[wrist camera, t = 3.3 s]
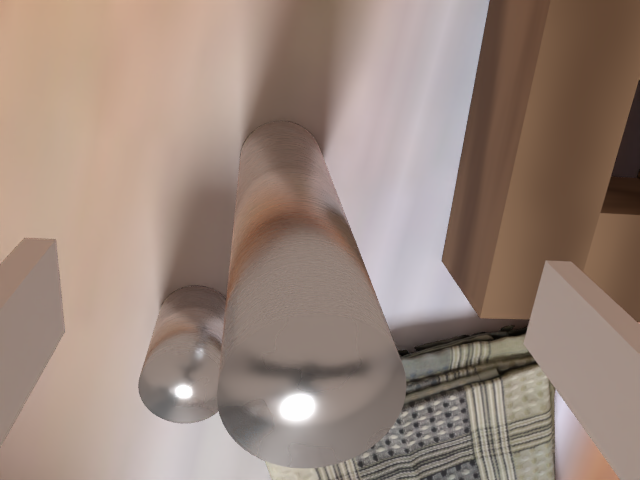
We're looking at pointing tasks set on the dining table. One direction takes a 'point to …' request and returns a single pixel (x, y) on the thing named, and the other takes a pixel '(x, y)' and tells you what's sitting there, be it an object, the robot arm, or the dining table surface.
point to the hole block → (548, 155)
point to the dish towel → (461, 417)
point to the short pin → (185, 356)
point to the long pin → (301, 315)
